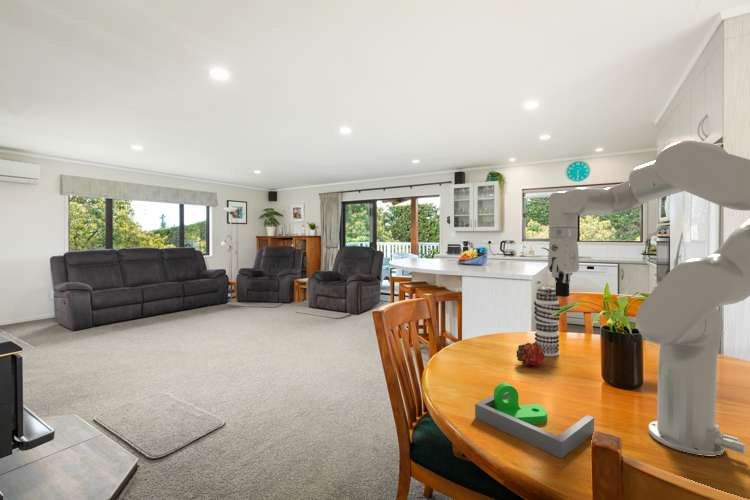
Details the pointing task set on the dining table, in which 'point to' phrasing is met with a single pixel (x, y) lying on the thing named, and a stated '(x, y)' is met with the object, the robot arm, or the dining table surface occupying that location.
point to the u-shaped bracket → (535, 429)
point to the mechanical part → (517, 406)
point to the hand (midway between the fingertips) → (562, 295)
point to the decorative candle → (547, 320)
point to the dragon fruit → (530, 354)
